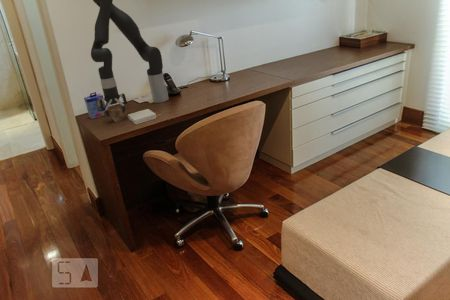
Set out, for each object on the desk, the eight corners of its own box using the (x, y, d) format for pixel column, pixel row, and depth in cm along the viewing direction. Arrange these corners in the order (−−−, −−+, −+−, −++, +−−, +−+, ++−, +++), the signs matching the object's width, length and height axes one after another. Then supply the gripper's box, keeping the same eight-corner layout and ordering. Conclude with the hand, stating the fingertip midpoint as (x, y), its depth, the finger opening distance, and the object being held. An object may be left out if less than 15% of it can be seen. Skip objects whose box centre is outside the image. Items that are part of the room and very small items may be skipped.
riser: (148, 112, 207) (147, 108, 206) (156, 118, 198) (155, 113, 197) (128, 118, 202) (127, 114, 201) (135, 124, 193) (134, 119, 191)
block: (121, 117, 205) (119, 107, 203) (124, 119, 201) (121, 109, 199) (113, 120, 203) (110, 109, 200) (115, 122, 199) (112, 112, 196)
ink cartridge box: (92, 119, 208) (84, 95, 202) (89, 117, 212) (81, 93, 206) (108, 114, 213) (101, 90, 207) (105, 112, 217) (98, 89, 211)
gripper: (120, 81, 200) (126, 109, 207) (94, 87, 194) (101, 115, 201) (124, 84, 194) (130, 112, 201) (97, 90, 188) (105, 119, 195)
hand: (116, 114), depth 201 cm, fingers open, 8 cm apart
